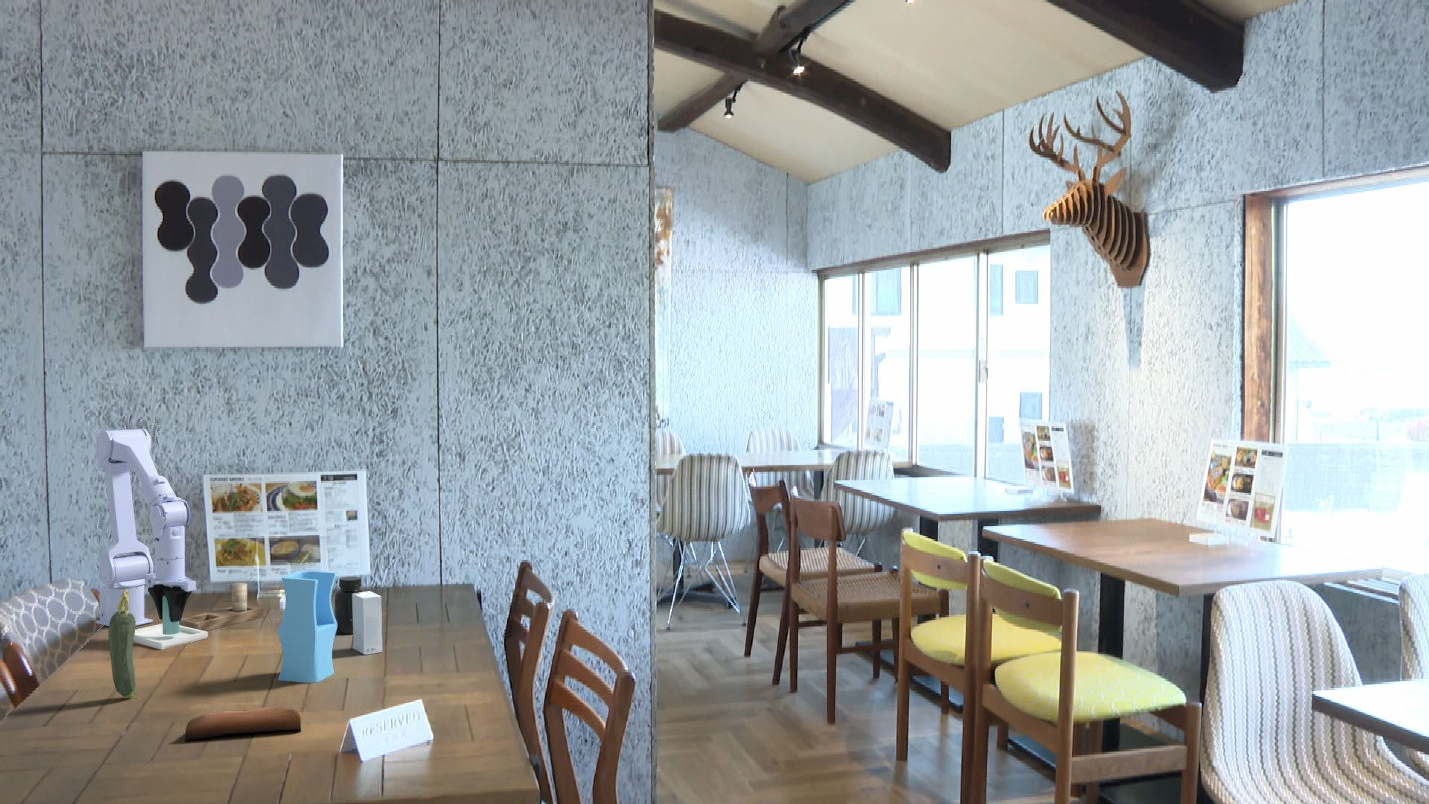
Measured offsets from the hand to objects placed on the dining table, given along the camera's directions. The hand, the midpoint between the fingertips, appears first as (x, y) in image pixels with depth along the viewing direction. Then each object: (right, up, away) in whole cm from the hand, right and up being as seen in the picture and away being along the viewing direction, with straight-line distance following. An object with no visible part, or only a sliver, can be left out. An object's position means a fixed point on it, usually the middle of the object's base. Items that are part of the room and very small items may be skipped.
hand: (170, 619), depth 245 cm
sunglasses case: (+38, -9, -52) cm, 65 cm away
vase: (+38, -7, -22) cm, 44 cm away
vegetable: (+10, -7, -39) cm, 41 cm away
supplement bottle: (+35, -5, +11) cm, 37 cm away
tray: (-2, -4, +1) cm, 5 cm away
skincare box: (+44, -6, -4) cm, 44 cm away
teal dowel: (0, -3, 0) cm, 3 cm away
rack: (+4, -4, +16) cm, 17 cm away
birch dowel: (+7, -4, +20) cm, 21 cm away
